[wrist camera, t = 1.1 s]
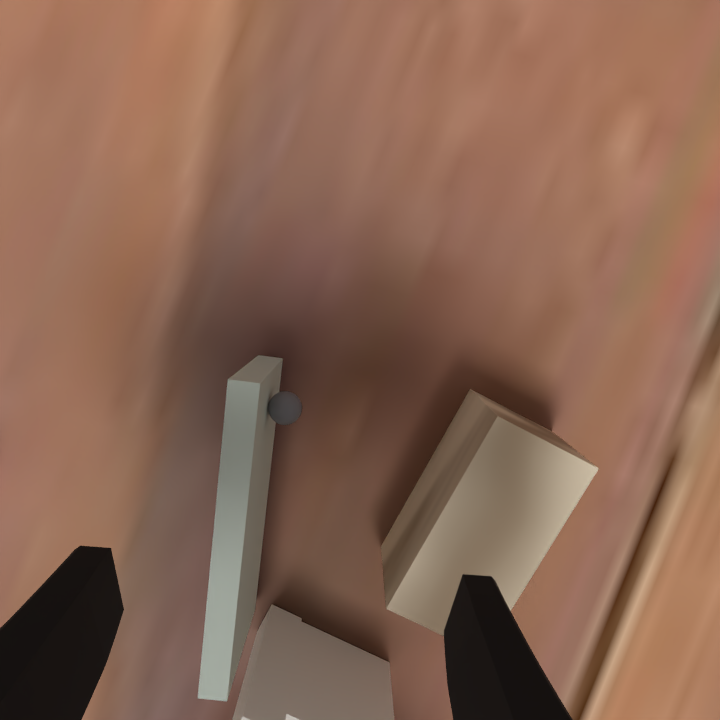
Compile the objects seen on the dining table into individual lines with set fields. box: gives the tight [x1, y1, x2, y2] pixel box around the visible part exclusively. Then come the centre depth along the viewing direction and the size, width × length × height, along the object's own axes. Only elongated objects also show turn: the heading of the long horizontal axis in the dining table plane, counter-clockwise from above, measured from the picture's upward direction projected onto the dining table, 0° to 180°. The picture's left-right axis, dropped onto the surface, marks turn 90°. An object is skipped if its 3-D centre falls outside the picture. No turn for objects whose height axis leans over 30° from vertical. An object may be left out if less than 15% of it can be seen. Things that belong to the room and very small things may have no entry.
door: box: [198, 355, 302, 701], centre depth 19 cm, size 11×2×5 cm, turn 172°
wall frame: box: [232, 605, 394, 720], centre depth 20 cm, size 27×2×6 cm, turn 62°
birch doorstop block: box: [381, 389, 599, 636], centre depth 20 cm, size 4×8×4 cm, turn 152°
